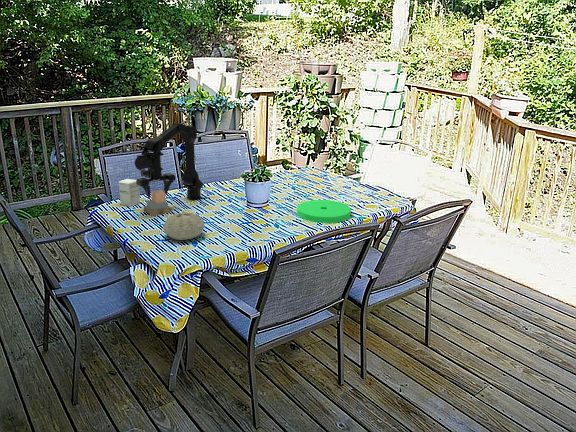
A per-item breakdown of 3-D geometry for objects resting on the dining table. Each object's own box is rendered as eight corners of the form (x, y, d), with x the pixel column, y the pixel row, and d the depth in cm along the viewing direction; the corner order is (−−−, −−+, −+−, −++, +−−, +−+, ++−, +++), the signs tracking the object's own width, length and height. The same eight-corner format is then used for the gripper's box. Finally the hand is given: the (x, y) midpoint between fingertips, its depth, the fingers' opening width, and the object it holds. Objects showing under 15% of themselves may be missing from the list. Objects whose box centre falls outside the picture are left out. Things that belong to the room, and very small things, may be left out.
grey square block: (161, 203, 258) (161, 198, 257) (168, 207, 252) (167, 202, 251) (146, 206, 253) (146, 200, 252) (152, 210, 247) (152, 204, 246)
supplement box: (120, 204, 263) (117, 181, 258) (130, 200, 269) (128, 178, 265) (130, 207, 259) (128, 183, 255) (140, 203, 266) (138, 180, 261)
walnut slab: (162, 208, 260) (161, 202, 259) (171, 213, 253) (171, 207, 252) (144, 212, 254) (143, 206, 253) (153, 217, 247) (153, 211, 246)
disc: (354, 208, 263) (354, 202, 262) (345, 226, 239) (346, 219, 238) (304, 203, 270) (304, 197, 269) (290, 220, 246) (291, 213, 244)
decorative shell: (155, 237, 221) (153, 216, 218) (184, 226, 235) (183, 205, 232) (185, 247, 212) (183, 224, 208) (213, 234, 226) (212, 213, 222)
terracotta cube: (160, 199, 255) (160, 189, 253) (165, 201, 252) (164, 191, 250) (151, 200, 252) (151, 191, 250) (156, 203, 248) (155, 193, 247)
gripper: (163, 159, 257) (165, 189, 263) (129, 165, 245) (132, 196, 250) (175, 163, 250) (176, 193, 255) (140, 170, 238) (143, 201, 243)
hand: (157, 196), depth 251 cm, fingers open, 9 cm apart
